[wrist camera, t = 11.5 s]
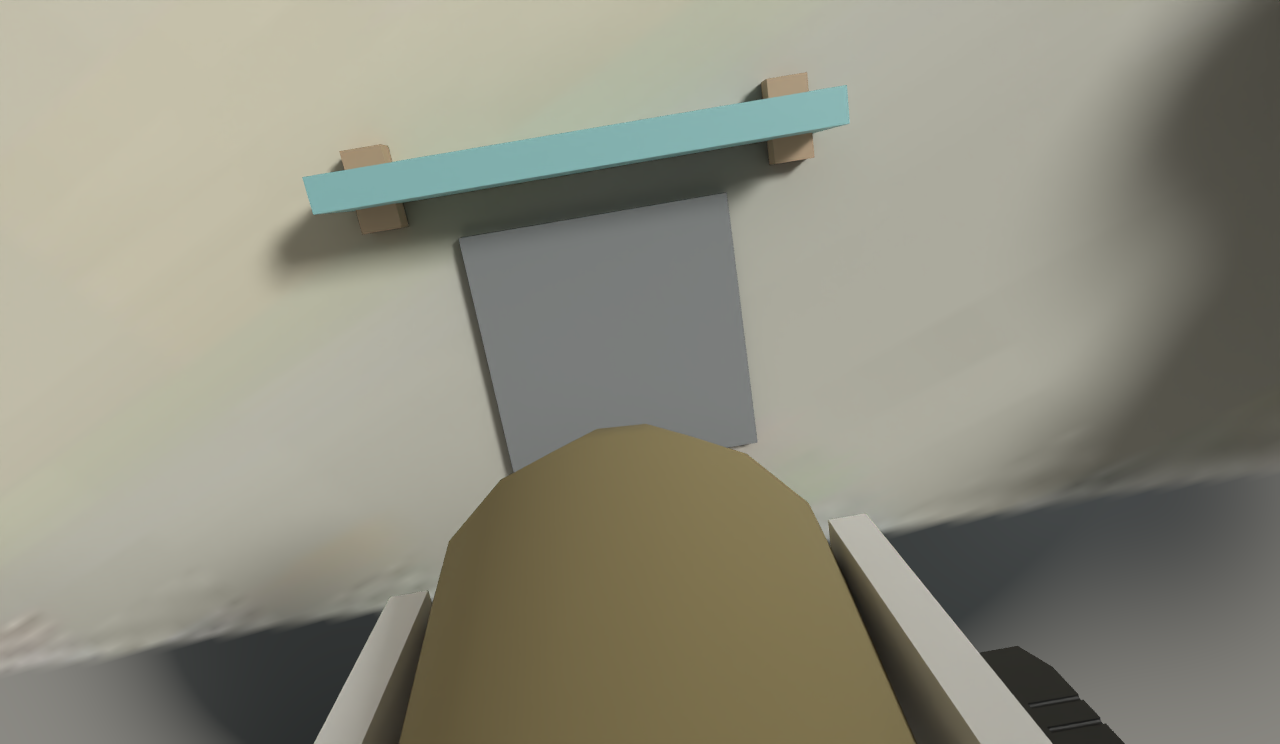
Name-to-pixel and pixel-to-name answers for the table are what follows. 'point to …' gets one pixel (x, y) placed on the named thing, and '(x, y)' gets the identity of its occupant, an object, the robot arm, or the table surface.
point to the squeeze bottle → (646, 609)
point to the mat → (614, 326)
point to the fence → (577, 152)
